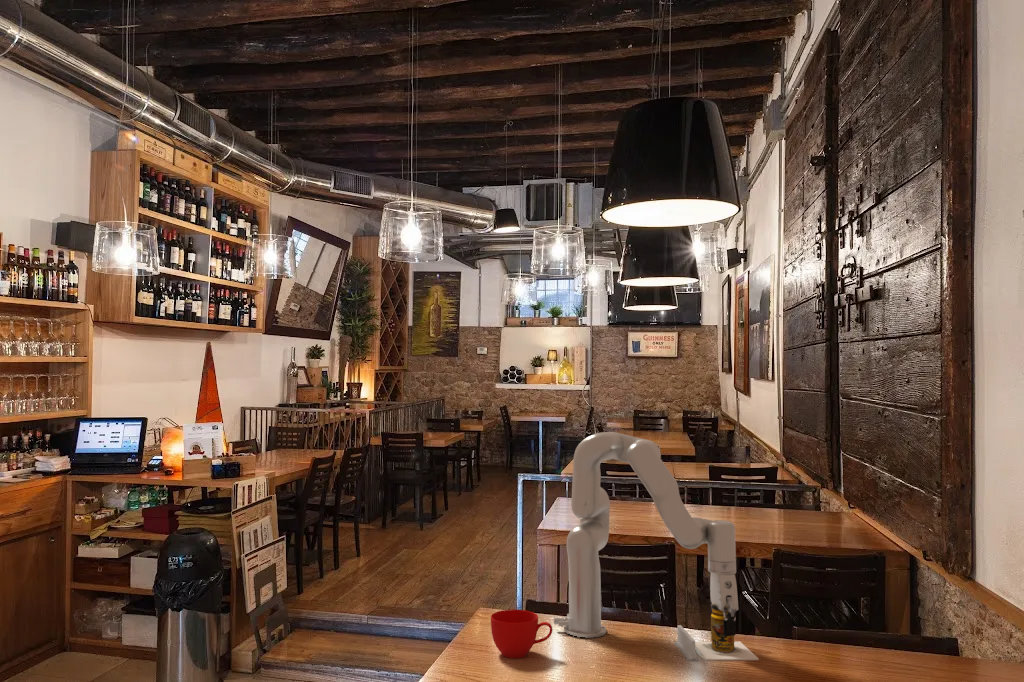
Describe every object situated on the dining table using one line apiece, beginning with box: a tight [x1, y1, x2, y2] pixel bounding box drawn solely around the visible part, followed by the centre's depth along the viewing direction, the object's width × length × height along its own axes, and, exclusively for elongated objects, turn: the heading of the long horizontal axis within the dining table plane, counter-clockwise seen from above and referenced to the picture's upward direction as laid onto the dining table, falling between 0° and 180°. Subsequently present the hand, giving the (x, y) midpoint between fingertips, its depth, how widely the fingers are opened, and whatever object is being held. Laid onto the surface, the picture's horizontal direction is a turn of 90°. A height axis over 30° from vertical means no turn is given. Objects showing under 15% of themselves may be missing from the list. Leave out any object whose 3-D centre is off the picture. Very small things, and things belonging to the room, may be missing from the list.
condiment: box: [702, 603, 741, 654], centre depth 197 cm, size 7×8×12 cm
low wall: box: [673, 624, 700, 662], centre depth 195 cm, size 3×14×5 cm, turn 2°
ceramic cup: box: [490, 609, 553, 659], centre depth 193 cm, size 13×17×10 cm
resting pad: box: [695, 641, 760, 662], centre depth 196 cm, size 14×14×1 cm
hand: (723, 629), depth 196 cm, fingers open, 9 cm apart
